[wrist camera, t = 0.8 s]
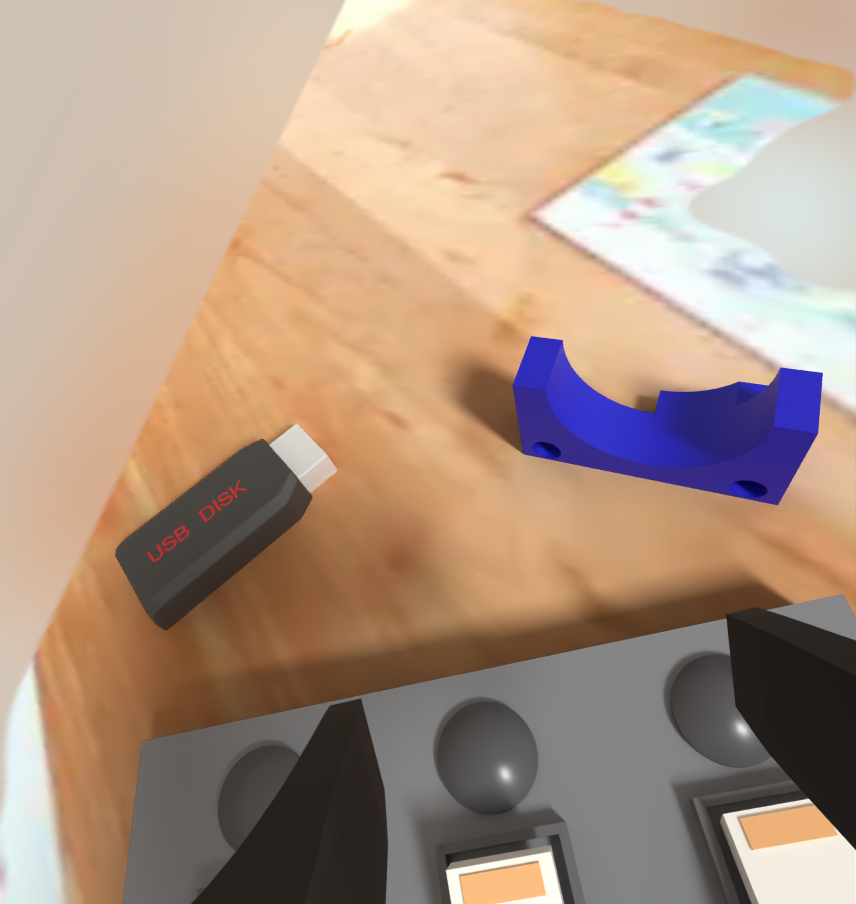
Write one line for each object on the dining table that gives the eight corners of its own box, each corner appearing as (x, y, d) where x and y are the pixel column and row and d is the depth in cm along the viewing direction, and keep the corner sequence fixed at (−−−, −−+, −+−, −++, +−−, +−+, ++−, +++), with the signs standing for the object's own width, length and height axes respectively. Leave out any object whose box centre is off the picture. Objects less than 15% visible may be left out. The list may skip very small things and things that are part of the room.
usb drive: (132, 566, 34) (100, 546, 32) (300, 433, 36) (281, 406, 34) (169, 632, 31) (137, 616, 29) (348, 483, 34) (332, 457, 31)
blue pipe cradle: (785, 428, 30) (824, 345, 25) (776, 506, 28) (817, 433, 23) (546, 390, 34) (539, 313, 29) (523, 455, 32) (512, 385, 27)
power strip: (1330, 1024, 16) (1498, 1064, 13) (145, 1182, 20) (66, 1241, 17) (1001, 581, 24) (1061, 542, 21) (181, 750, 27) (131, 738, 24)
